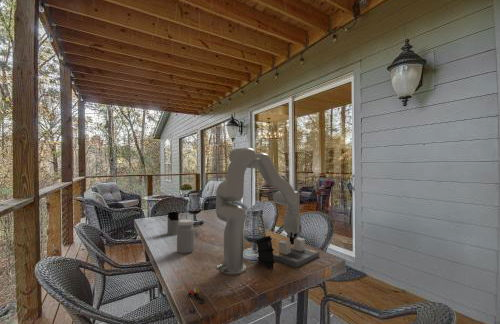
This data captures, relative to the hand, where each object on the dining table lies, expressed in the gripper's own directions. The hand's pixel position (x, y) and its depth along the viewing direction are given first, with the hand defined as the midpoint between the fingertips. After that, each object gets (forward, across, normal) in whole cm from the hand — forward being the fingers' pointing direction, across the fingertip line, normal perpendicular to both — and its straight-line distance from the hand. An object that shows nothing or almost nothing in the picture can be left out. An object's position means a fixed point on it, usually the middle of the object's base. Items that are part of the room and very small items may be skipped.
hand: (292, 243), depth 145 cm
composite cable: (+6, +3, -67) cm, 67 cm away
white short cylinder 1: (+2, +2, -10) cm, 10 cm away
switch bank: (+5, +6, -5) cm, 10 cm away
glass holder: (+5, -82, -28) cm, 87 cm away
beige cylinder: (+2, +5, 0) cm, 5 cm away
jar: (+5, -45, -44) cm, 63 cm away
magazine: (+5, 0, -24) cm, 25 cm away
